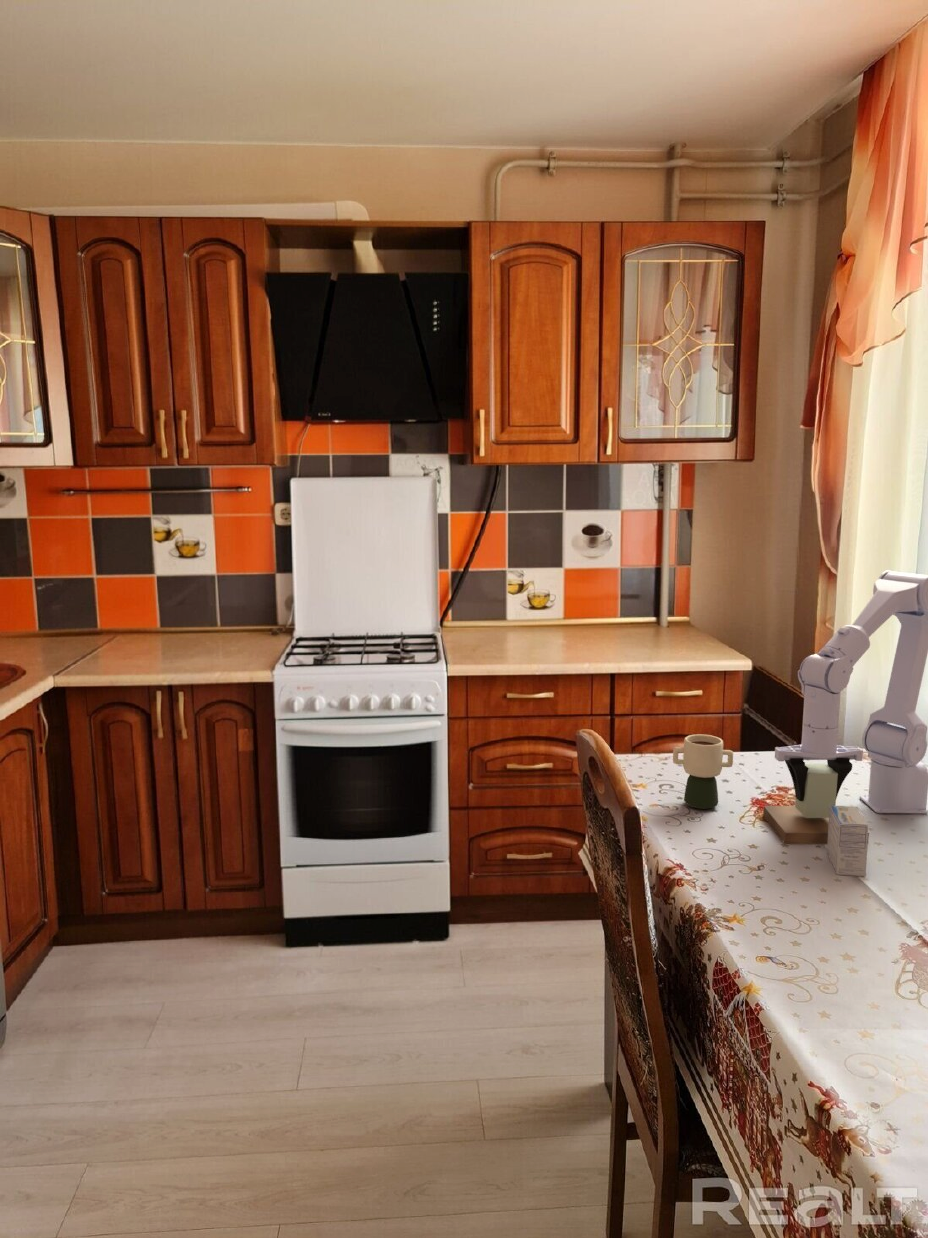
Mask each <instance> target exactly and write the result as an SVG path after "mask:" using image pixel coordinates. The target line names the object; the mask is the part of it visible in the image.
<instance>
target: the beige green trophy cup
mask: <svg viewBox="0 0 928 1238" xmlns="http://www.w3.org/2000/svg"><path fill="white" fill-rule="evenodd" d="M672 750H673V751H672V763H673V764H675V765H682V767H683V769H684V772H685V774H688V775H689V776H688V777H687V780H686V785H685V791H684V795H683V797H684V798H683V801H684V802H685V803H686V805H688V806H690V807H692V808H695V809H698V810H699V809H700V810H701V809H702V810H703V809H704V810H708V809H712V808H715V807H716V806H718V805H719V793H718V783H717V779H716V777H718V776H720V775H721V772H722V771H723V768H732V767H733V765H734V751H733V750H730V749H724V740H723V739H722V738H720V737H718V736H714V735H710V734H701V733H700V734H699V733H697V734H691V735H690V734H689V735H687V736H685V737H684V740H683V747H680V746H679V747H678V746H675V747H673V749H672ZM679 753H682V755H683V756H682V758H681V759H679ZM723 756H727V761H723V760H724V759H723V758H724V757H723Z"/></svg>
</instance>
